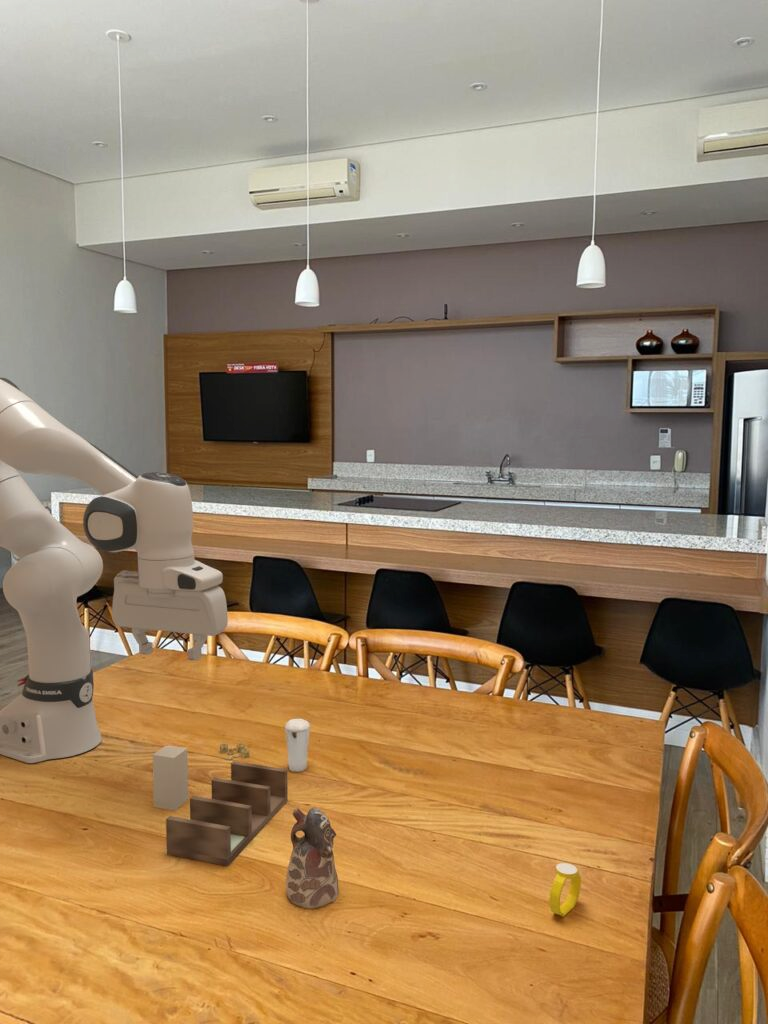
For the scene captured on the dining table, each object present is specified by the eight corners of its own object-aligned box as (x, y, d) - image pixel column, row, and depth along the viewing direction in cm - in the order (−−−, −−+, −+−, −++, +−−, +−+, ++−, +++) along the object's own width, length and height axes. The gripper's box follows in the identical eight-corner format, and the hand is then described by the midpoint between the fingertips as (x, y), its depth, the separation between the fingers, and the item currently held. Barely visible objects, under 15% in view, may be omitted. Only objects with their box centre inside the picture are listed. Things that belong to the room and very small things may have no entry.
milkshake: (310, 775, 144) (310, 721, 143) (281, 772, 145) (281, 719, 144) (317, 764, 149) (317, 712, 147) (289, 761, 150) (289, 710, 149)
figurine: (331, 911, 105) (331, 825, 103) (279, 905, 106) (278, 819, 104) (343, 881, 112) (344, 799, 110) (294, 875, 113) (294, 794, 111)
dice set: (219, 753, 155) (219, 744, 154) (246, 750, 156) (246, 741, 156) (222, 764, 150) (222, 754, 150) (250, 761, 151) (249, 751, 151)
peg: (154, 806, 132) (152, 754, 131) (167, 795, 136) (166, 745, 135) (175, 810, 131) (174, 757, 130) (188, 799, 135) (187, 748, 134)
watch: (565, 898, 109) (568, 856, 108) (584, 907, 107) (587, 863, 107) (543, 915, 104) (546, 871, 104) (562, 924, 102) (565, 879, 102)
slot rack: (166, 854, 118) (165, 818, 117) (234, 791, 138) (233, 761, 137) (227, 866, 115) (227, 830, 114) (287, 800, 135) (287, 769, 134)
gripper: (101, 573, 130) (105, 655, 132) (209, 581, 123) (212, 668, 125) (126, 566, 136) (130, 645, 138) (231, 573, 129) (233, 657, 131)
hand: (170, 656), depth 131 cm, fingers open, 8 cm apart
